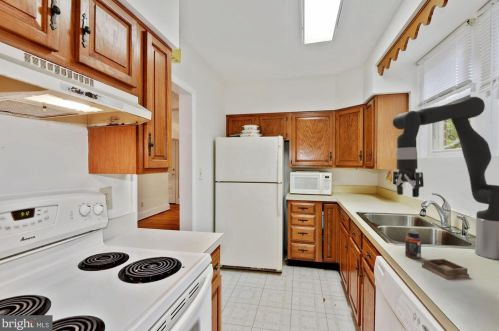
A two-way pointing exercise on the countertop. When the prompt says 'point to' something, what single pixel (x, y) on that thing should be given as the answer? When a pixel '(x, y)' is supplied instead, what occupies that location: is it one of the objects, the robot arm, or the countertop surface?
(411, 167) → the robot arm
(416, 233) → the supplement bottle
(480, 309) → the countertop surface
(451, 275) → the square wooden tray
